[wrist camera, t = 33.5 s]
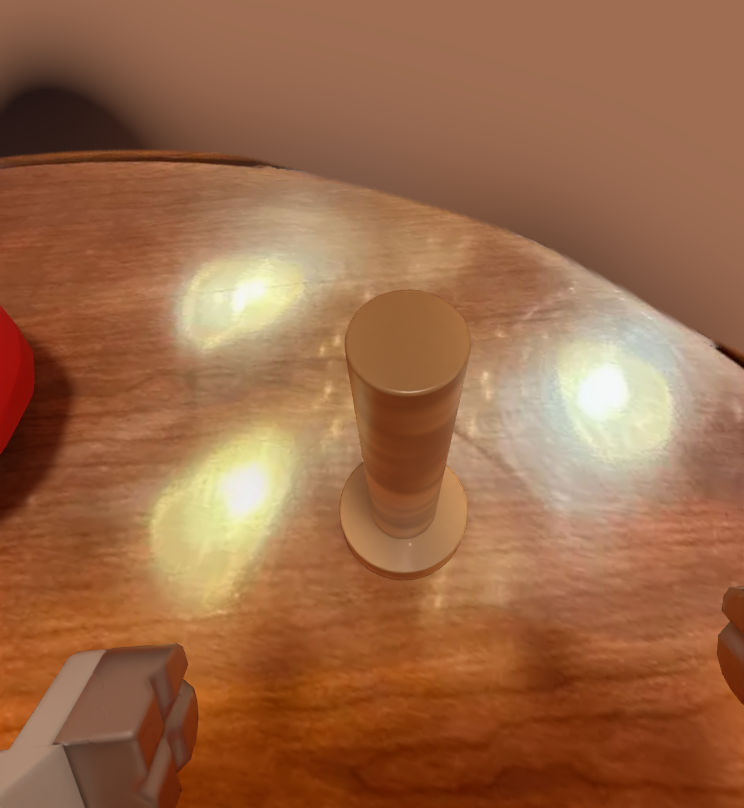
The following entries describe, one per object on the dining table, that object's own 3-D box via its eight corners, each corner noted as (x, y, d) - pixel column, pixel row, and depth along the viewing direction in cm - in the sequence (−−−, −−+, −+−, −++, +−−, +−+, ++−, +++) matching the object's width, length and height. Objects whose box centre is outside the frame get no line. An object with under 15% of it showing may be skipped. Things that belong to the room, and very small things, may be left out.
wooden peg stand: (419, 440, 26) (438, 208, 13) (488, 535, 23) (591, 370, 11) (320, 499, 24) (238, 310, 12) (384, 605, 22) (366, 510, 10)
